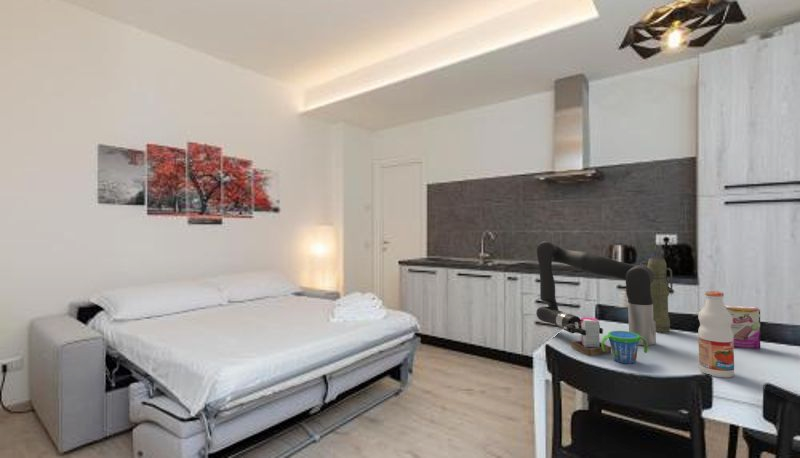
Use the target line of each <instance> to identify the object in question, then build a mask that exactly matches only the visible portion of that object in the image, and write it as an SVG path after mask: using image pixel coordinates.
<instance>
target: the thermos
mask: <svg viewBox="0 0 800 458" xmlns="http://www.w3.org/2000/svg"><path fill="white" fill-rule="evenodd" d="M646 267H647V268H649V269H650V270H651V271H652V272H653V274H654V280H653V282H652V283H651V284H650V287H651V296H652V298H653V321H655V322H656V334H657V333H658V334H659V333H660V334H668V333H670V332H671V330H670V328H671V320H670V316H669V298H668V297H669V295H670V291H673V270H672V269H671V268H670V267H667V262H666V259H665V258H663V257H650V258H648V262H647V266H646ZM668 271H669V276H670V277H669V278H670V282H669V281H668V277H667V274H668ZM669 283H670V286H669Z"/></svg>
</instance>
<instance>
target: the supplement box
mask: <svg viewBox="0 0 800 458" xmlns="http://www.w3.org/2000/svg"><path fill="white" fill-rule="evenodd" d="M580 319H581V329H584V330H586V335H582V334H580V335H581V338H580V339H581V340H580V341H581V344H582V345H583V346H585V347H587V348H596V347H600V344H599V342H600V333H599V325H600V320H598V319H597V318H596V317H581V318H580Z"/></svg>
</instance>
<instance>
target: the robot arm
mask: <svg viewBox="0 0 800 458" xmlns="http://www.w3.org/2000/svg"><path fill="white" fill-rule="evenodd" d="M536 256H537V261H538V262H537V263H538V267H539V279H540V280H539V281H540V282H539V283H540V284H539V286H540V287H539V289H540V290H539V292H540V293H539V294H540V295H539V297H540V301H541V302H545V303H546V304H547V306H544V305H542V306H540V307H538V308H537V309H536V316H537V318H538V320H540V321H541V322H544V323H549V324H553V325H555V326H557V327H559V328H560V329H562V330H563V331H566V332H568V333H570V334H579V335H581V334H582V335H586V330H584V329H581V318H580V317H579V316H576V315H575V314H572V313H569V312H564V311H562V310H559V306H558V303H557V299H556V283H555V278H554V274H553V268H552V267H553V266H552V265H553V264H552V263H554V262H555V263H560V264H563V265H564V264H565V265H568V266H570V267H572V268H574V269H576V270H580V271H581V272H585V273H589V274H593V275H596V276H597V275H598V276H605V277H612V278H618V279H621V280H624V281H625V291H626V294H625V295H626V297H627V308H628V309H627V310H628V313H627V316H628V332H633V333H636V334H638V335H639V336H641V337H642V338H644V339H645V341H646V343H647V346H653V345H655V344H657V332H656V322H655V321H653V298H652V296H651V287H650V284H651V283H652V282H653V280H654V274H653V272H652V271H651V270H650V269H649V268H647V267H648V266H645V265H639V264H633V263H627V262H622V261H618V260H616V259H613V258H610V257H606V256H602V255H599V254H595V253H591V252H589V251H588V252H587V251H582V250H581V251H579V250H571V249H567V248H564V247H562V246H558V245H557V244H555V243H553V242H551V241H546V240H545V241H541V242H539V244H538V245H537V246H536ZM603 333H604V328H602V327H601V325H600V324H599V335H600V334H601V335H603ZM638 346H644V342H643V340H642V339H640V340H639V343H638Z"/></svg>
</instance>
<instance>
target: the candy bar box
mask: <svg viewBox="0 0 800 458" xmlns="http://www.w3.org/2000/svg"><path fill="white" fill-rule="evenodd" d="M724 306H725V308H726V310H727V311H728V312H729V313H730V314H731V316H732V324H731V330H732V332H733V339H734V348H739V349H740V348H741V349H742V348H743V349H751V350H752V349H753V350H754V349H756V350H761V309H760V308H757V307H756V306H742V305H725V304H724Z"/></svg>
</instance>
